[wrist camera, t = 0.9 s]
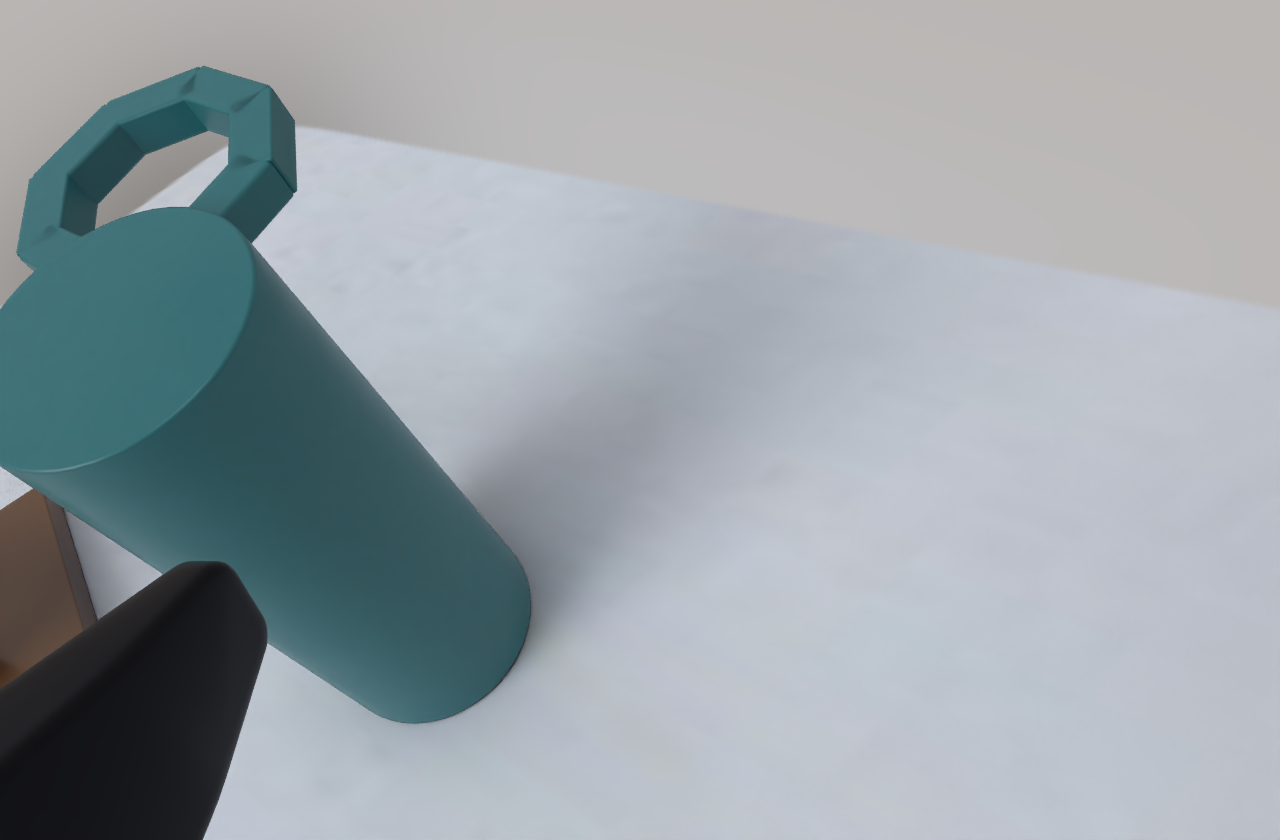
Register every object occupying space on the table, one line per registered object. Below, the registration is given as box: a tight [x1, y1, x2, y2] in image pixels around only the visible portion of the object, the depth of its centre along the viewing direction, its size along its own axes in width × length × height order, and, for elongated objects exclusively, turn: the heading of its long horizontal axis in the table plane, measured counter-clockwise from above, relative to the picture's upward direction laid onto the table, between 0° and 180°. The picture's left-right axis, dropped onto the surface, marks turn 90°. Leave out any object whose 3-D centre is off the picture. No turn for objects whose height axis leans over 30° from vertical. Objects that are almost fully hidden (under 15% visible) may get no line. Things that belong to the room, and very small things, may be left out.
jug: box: [0, 66, 531, 723], centre depth 24 cm, size 10×5×12 cm, turn 12°
